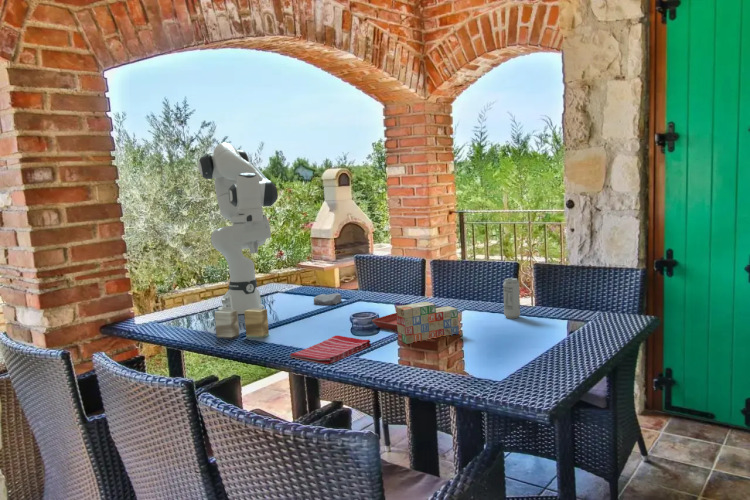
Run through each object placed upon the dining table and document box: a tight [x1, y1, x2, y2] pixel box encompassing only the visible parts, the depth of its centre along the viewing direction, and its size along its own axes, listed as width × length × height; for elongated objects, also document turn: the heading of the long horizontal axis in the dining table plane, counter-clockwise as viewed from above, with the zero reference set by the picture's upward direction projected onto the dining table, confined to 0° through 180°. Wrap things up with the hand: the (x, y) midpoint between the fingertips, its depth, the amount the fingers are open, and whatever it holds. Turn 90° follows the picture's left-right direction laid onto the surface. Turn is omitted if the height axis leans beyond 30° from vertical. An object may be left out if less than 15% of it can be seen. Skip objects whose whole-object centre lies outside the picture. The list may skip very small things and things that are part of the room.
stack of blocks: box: [395, 301, 460, 345], centre depth 212 cm, size 21×6×12 cm, turn 115°
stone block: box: [313, 292, 342, 306], centre depth 282 cm, size 12×5×10 cm
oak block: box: [244, 308, 270, 339], centre depth 227 cm, size 4×7×10 cm, turn 67°
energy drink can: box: [502, 277, 521, 320], centre depth 234 cm, size 6×6×15 cm
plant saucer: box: [371, 312, 398, 332], centre depth 231 cm, size 18×18×3 cm
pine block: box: [214, 310, 240, 340], centre depth 228 cm, size 4×7×10 cm, turn 67°
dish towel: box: [289, 335, 371, 365], centre depth 202 cm, size 17×24×3 cm
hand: (254, 252), depth 229 cm, fingers closed
